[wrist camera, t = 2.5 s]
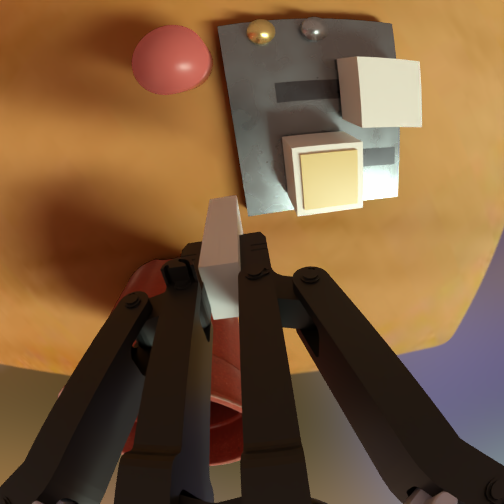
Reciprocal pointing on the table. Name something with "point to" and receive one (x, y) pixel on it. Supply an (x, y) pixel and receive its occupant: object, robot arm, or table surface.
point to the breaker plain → (380, 92)
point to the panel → (300, 99)
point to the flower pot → (222, 376)
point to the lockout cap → (171, 60)
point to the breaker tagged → (323, 172)
